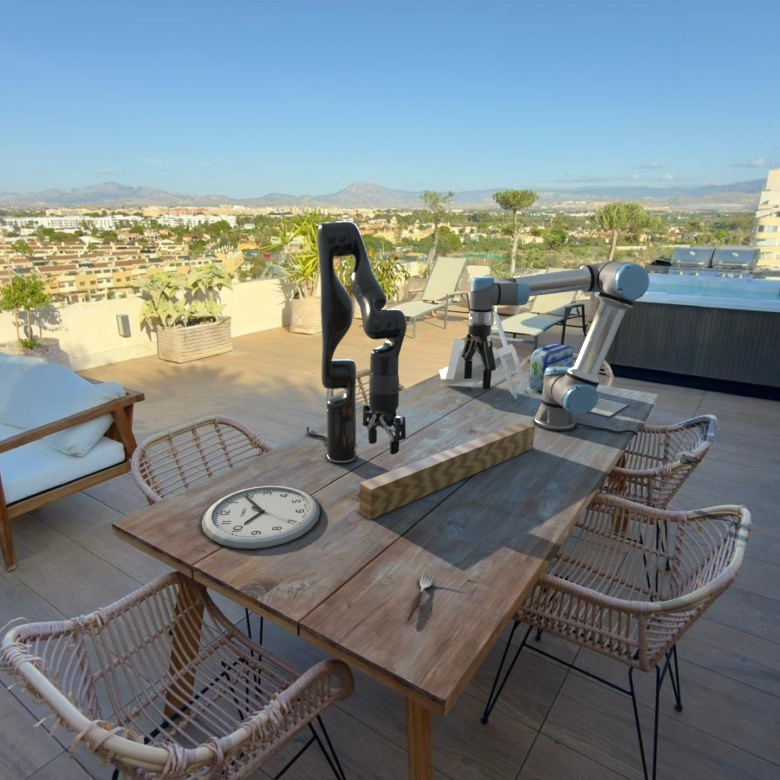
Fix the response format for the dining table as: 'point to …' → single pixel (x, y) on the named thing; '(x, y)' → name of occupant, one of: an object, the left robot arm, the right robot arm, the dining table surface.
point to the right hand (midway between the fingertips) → (476, 383)
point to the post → (442, 469)
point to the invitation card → (607, 407)
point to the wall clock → (260, 517)
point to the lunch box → (548, 362)
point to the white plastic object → (502, 355)
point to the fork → (424, 584)
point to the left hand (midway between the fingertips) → (383, 448)
